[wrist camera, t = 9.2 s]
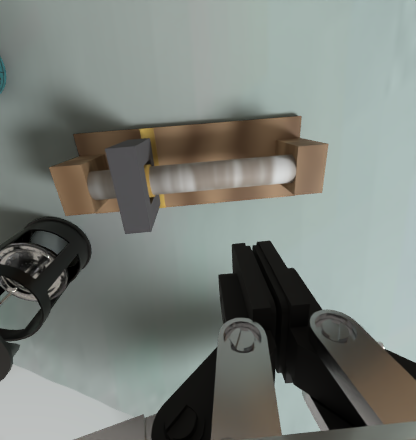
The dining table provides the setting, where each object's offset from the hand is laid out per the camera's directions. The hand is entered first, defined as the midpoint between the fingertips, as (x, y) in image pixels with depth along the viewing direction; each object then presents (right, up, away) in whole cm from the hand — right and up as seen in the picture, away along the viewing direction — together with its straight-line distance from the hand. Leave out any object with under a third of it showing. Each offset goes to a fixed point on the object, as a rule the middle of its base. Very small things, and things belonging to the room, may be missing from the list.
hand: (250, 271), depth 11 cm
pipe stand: (-4, +9, +20) cm, 22 cm away
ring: (-10, +8, +18) cm, 22 cm away
